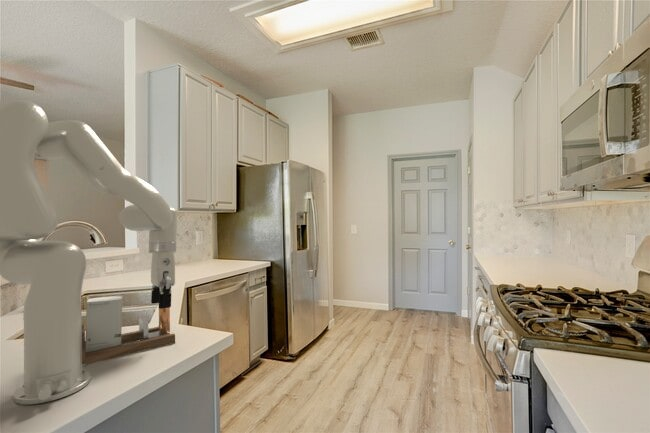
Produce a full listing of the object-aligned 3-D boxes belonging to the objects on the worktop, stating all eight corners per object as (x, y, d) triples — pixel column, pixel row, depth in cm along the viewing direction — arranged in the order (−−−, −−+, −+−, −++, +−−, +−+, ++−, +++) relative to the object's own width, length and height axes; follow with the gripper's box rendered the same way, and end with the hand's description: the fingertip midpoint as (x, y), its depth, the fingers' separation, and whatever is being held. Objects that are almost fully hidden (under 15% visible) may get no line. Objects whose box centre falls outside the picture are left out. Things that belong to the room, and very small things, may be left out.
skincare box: (84, 360, 85) (84, 302, 85) (87, 352, 90) (86, 298, 90) (122, 352, 89) (122, 297, 89) (122, 345, 94) (122, 294, 94)
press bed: (175, 343, 95) (174, 315, 95) (73, 367, 80) (72, 334, 81) (165, 332, 104) (164, 307, 105) (72, 352, 90) (71, 323, 90)
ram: (173, 340, 97) (172, 303, 97) (143, 347, 92) (143, 308, 92) (167, 334, 103) (166, 299, 103) (139, 340, 98) (138, 304, 98)
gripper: (183, 248, 95) (182, 308, 93) (168, 247, 108) (167, 299, 107) (155, 248, 90) (153, 311, 89) (143, 247, 103) (141, 302, 102)
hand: (160, 305), depth 98 cm, fingers open, 9 cm apart
